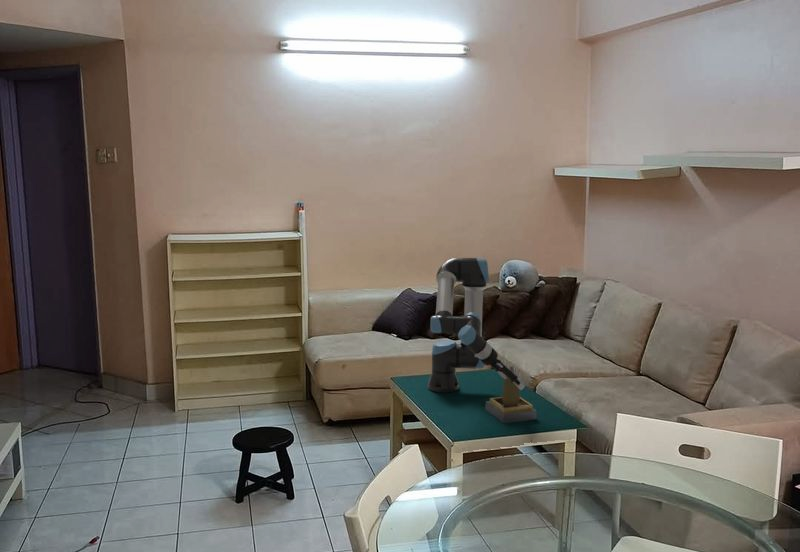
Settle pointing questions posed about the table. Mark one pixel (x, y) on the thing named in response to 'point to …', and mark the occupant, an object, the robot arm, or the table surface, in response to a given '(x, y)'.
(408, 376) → the table surface
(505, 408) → the square gold-rimmed tray
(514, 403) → the squeeze bottle
